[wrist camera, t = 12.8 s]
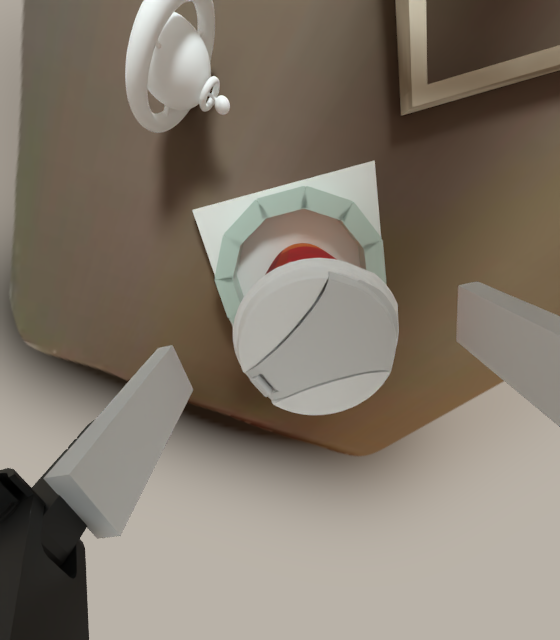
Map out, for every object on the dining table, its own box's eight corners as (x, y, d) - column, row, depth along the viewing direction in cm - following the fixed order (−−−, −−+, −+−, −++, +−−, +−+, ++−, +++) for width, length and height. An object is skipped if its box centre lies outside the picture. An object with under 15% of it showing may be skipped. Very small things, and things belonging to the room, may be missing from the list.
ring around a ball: (199, 9, 18) (140, -124, 11) (268, 72, 19) (257, -7, 12) (149, 125, 21) (75, 83, 13) (212, 174, 22) (176, 160, 15)
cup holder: (196, 209, 23) (183, 210, 20) (370, 162, 21) (383, 156, 18) (245, 354, 29) (241, 370, 26) (385, 327, 27) (396, 341, 24)
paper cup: (291, 327, 26) (295, 446, 13) (242, 265, 24) (188, 336, 11) (361, 282, 24) (444, 371, 11) (315, 209, 22) (353, 217, 9)
